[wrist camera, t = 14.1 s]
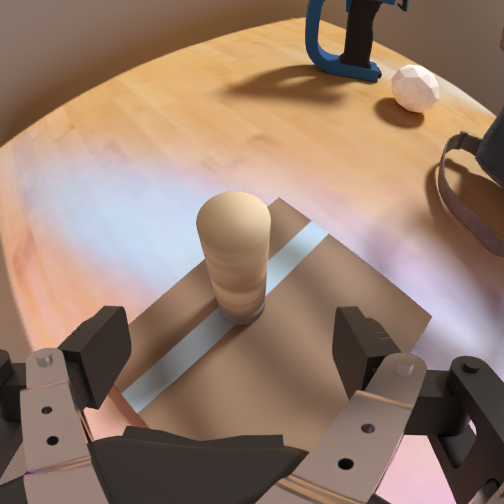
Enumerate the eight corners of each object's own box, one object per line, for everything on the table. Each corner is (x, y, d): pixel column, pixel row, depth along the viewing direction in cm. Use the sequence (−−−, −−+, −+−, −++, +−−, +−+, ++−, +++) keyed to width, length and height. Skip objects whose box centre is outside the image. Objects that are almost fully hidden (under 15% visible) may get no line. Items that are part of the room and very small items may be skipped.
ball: (408, 127, 44) (418, 110, 36) (379, 89, 44) (383, 67, 37) (441, 108, 42) (454, 89, 34) (412, 71, 42) (420, 48, 35)
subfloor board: (278, 207, 32) (279, 197, 30) (424, 322, 25) (432, 316, 24) (101, 360, 24) (93, 355, 22) (253, 519, 17) (253, 525, 16)
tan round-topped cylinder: (242, 274, 26) (234, 180, 17) (274, 303, 25) (286, 219, 15) (209, 303, 25) (181, 220, 15) (241, 334, 24) (231, 266, 14)
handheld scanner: (391, 86, 45) (413, -11, 29) (301, 71, 47) (308, -33, 30) (386, 75, 48) (405, -16, 31) (301, 61, 49) (308, -35, 33)
